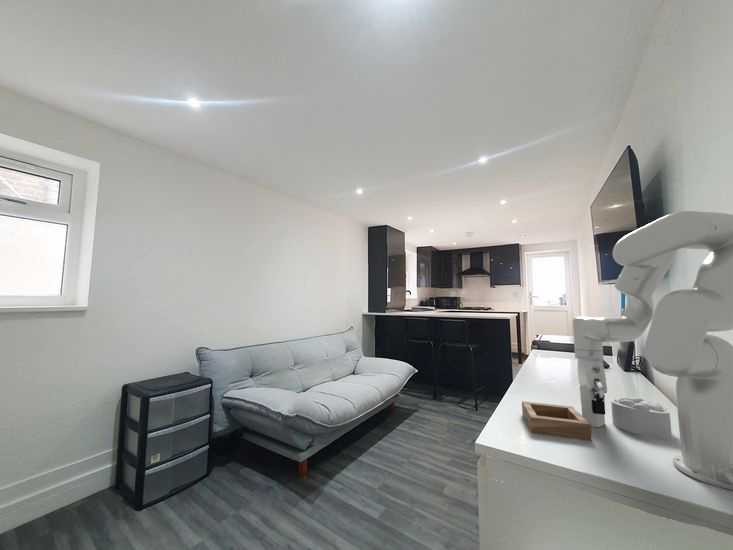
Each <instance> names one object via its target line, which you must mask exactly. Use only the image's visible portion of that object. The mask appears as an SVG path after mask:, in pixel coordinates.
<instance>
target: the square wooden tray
mask: <svg viewBox="0 0 733 550" xmlns="http://www.w3.org/2000/svg"><path fill="white" fill-rule="evenodd" d="M521 408H522V410H521V411H522V417H523V416H524V417H523V418H524V420H525V422H526V424H527V425H528V428H529V431H530V432H531V434H536V433H537V435H538V434H539V435H545V436H551V435H552V436H553V437H561V438H568V439H574V438H575V439H577V440H582V441H583V440H584V441H592V440H593V438H592V437H593V436H592V426H591V424H590V423H589V422H588V421H587V420H586V419H585V418H584V417H583V416H582V413H581V414H580V412H579V411H577V410H576V409H575V408H574V407H573V406H572V405H571V406H570V405H560V404H551V403H542V402H541V403H540V402H531V401H521Z"/></svg>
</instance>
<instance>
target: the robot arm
mask: <svg viewBox="0 0 733 550" xmlns="http://www.w3.org/2000/svg"><path fill="white" fill-rule="evenodd" d="M681 249H688V250H690V249H691V250H706V251H708V252H709V254H708V256H707V257H706V258H705V259H704V260H703V262H702V263H701V265H700V266H699V268H698V270H697V274H696V278H695V279H694V280H695V281H694V284H693V285H692V288H686V289H684V288H683V289H677V290H674V291H670V292H668V293H667V294H665V295H664V296H662V298H661V299H659V301H658V302H657V304H656V306H655V308H654V301H653V295H654V293H655V291H656V289H657V288H658V287H659V285H660V283H661V282H662V280H663V279H664V277H665V275H666V274H667V272H668V271H669V269H670V267H671V266H672V263H674V261H675V259H676V257H677V254H678V250H681ZM612 257H613V260H614V261H615V262H616V264H618V265H620V266H623V268H622V270H621V272H620V274H619V275H618V277H617V279H616V280H615V282H614V287H615V288H616V290H617V291H618V292H620V293H621V294H623V295H625V296H626V299H627V304H626V307H625V310H624V311H623V312H622V314H621V316H620V317H619V316H618V317H617V316H615V317H614V316H613V317H612V316H611V317H610V316H609V317H595V316H577V317H576V316H575V317H574V318H573V320H572V327H573V328H572V329H573V330H572V331H573V332H572V333H573V344H574V345H573V346H574V358H575V359H576V360H577V378H578V380H577V381H578V384H579V386H580V385H582V384H583V385H585V387H586V390H588V391H589V392H591V395H592V398H593V400H591V401H592V412H593V413H594V414H603V415H604V416H605V415H606V405H605V400H606V399H605V398H606V396H605V394H607V392H608V387H607V386H608V385H607V378H606V371H605V367H604V362H603V361H604V360H605V359H604V348H603V347H604V345H603V343H624V342H626V343H627V342H633V341H636V340H638V339H639V338H640V337H641V336H642V335H643V334H644V333H645V331H646V330H647V328H648V326H649V330H648V333H647V336H646V339H645V346H644V355H645V358H646V361H647V362H648V363H649V365H650V366H651V368H653V369H654V370H655V371H657V372H658V373H660V374H662V375H665V376H670V377H677V378H676V382H675V397H676V400H675V401H676V408H677V409H676V410H677V420H678V421H677V422H678V430H679V441H680V448H681V449H680V450H681V454H680V455H675V456H674V457H673V458H672V463H673V465H674V466H675V467H676V468H677V469H678V470H679V471H681V472H682V473H684V474H686V475H688V476H689V477H692V478H693V479H696V480H698V481H701V482H703V483H706V484H708V485H709V484H710V485H712V486H716V487H719V488H723V489H725V490H726V489H727V490H731V491H733V345H732V344H731V343H730V342H729V341H727V340H726V339H724V338H722V337H720V336H717V335H713V334H708V332H712V333H713V332H727V331H732V330H733V214H732V213H724V212H714V211H713V212H711V211H698V210H697V211H695V210H682V211H676V212H673V213H670V214H666V215H664V216H662V217H660V218H658V219H656V220H654V221H652V222H650V223H648V224H646V225H644V226H642V227H640V228H638V229H635V230H633V231H632V232H630V233H628V234H626V235H624V236H623V237H621V238H620V239H619V240H618V241H617V242H616V243H615V245H614V246H613V249H612ZM593 388H595V389H596V390H593ZM594 393H597V394H596V396H595V394H594ZM579 394H580V393H579ZM580 397H581V394H580Z"/></svg>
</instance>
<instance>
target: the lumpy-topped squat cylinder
mask: <svg viewBox="0 0 733 550" xmlns="http://www.w3.org/2000/svg"><path fill="white" fill-rule="evenodd" d="M611 416H612V417H611V418H612V425H613V426H615V427H616V428H618V429H621V430H623V431H627V432H629V433H633V434H636V435H640V436H646V437H650V438H656V439H660V440H661V439H662V440H672V439H673V433H672V432H673V431H672V423H671V422H672V421H671V414H670V412H669V411H668V410H667V407H666V406H663V405H661V404H660V403H658V402H656V401H650V400H644V399H643V398H641V397H638V396H637V397H631V398H630V397H625V396H622V397H620V398H619V399H612V400H611Z"/></svg>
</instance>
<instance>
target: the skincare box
mask: <svg viewBox="0 0 733 550" xmlns="http://www.w3.org/2000/svg"><path fill="white" fill-rule="evenodd" d="M593 390H596V389H595V388H593ZM579 391H580V392H579V394H581V396H580V403H581V405H580V407H581V415H582V416H583V417H584V418H585V419H586V420H587V421H588V422H589V423H590V424H591V427H594V428H597V429H598V428H600V427H603V426H604V425H605V424H606V419H605V418H606V417H605V415H603V414H594V413H593V412H592V401H591V400H593V398H592V395H591V392H589V391H588V390H586V387H585V385H583V384H582V385H580V384H579ZM594 394H595V396H596V394H597V393H594Z"/></svg>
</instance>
